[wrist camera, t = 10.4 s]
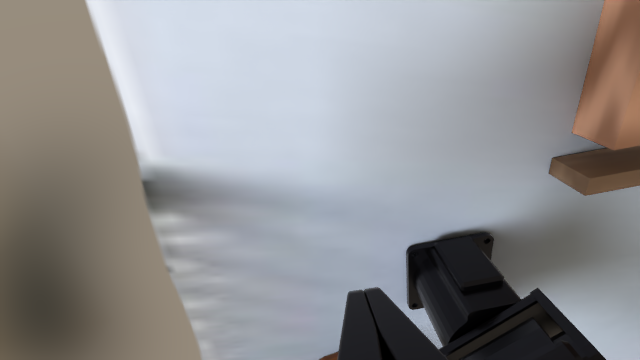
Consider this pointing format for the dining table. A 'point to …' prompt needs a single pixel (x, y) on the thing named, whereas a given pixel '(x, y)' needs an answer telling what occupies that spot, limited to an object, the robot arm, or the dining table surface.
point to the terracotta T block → (613, 79)
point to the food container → (330, 357)
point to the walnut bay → (599, 170)
